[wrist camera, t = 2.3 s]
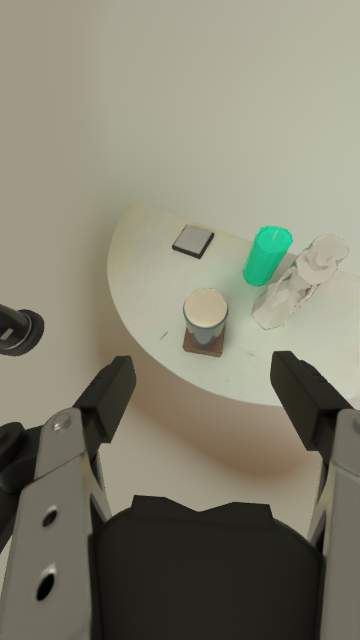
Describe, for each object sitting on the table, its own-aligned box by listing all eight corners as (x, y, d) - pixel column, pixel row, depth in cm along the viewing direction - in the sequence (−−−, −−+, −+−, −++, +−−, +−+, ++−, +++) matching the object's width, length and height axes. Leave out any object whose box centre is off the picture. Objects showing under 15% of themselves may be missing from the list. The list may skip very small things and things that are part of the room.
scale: (172, 249, 45) (171, 245, 44) (187, 227, 47) (186, 223, 46) (199, 259, 43) (199, 255, 42) (214, 236, 45) (214, 231, 44)
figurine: (248, 325, 36) (289, 272, 19) (255, 292, 38) (296, 218, 21) (286, 334, 34) (365, 284, 17) (290, 298, 36) (363, 225, 20)
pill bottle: (311, 275, 38) (352, 233, 27) (311, 300, 36) (356, 264, 25) (280, 271, 39) (309, 229, 29) (279, 295, 37) (309, 260, 27)
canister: (186, 344, 32) (178, 324, 22) (191, 315, 34) (186, 284, 23) (218, 349, 31) (226, 331, 20) (222, 319, 33) (231, 288, 22)
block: (184, 351, 35) (182, 347, 32) (190, 319, 38) (189, 312, 34) (219, 357, 34) (221, 353, 30) (223, 324, 36) (225, 316, 33)
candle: (237, 273, 40) (250, 230, 29) (256, 259, 41) (276, 211, 30) (256, 290, 38) (278, 251, 27) (276, 275, 39) (306, 230, 28)
